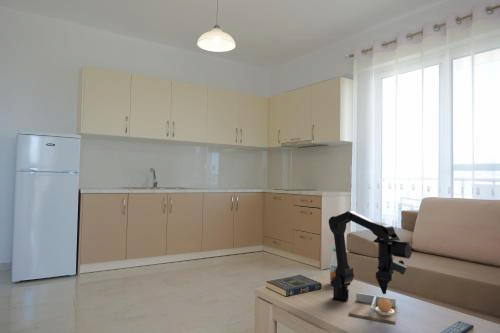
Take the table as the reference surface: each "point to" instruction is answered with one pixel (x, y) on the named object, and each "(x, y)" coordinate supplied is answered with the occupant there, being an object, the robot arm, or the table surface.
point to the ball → (384, 305)
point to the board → (372, 308)
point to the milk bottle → (333, 265)
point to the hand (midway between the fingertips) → (385, 290)
